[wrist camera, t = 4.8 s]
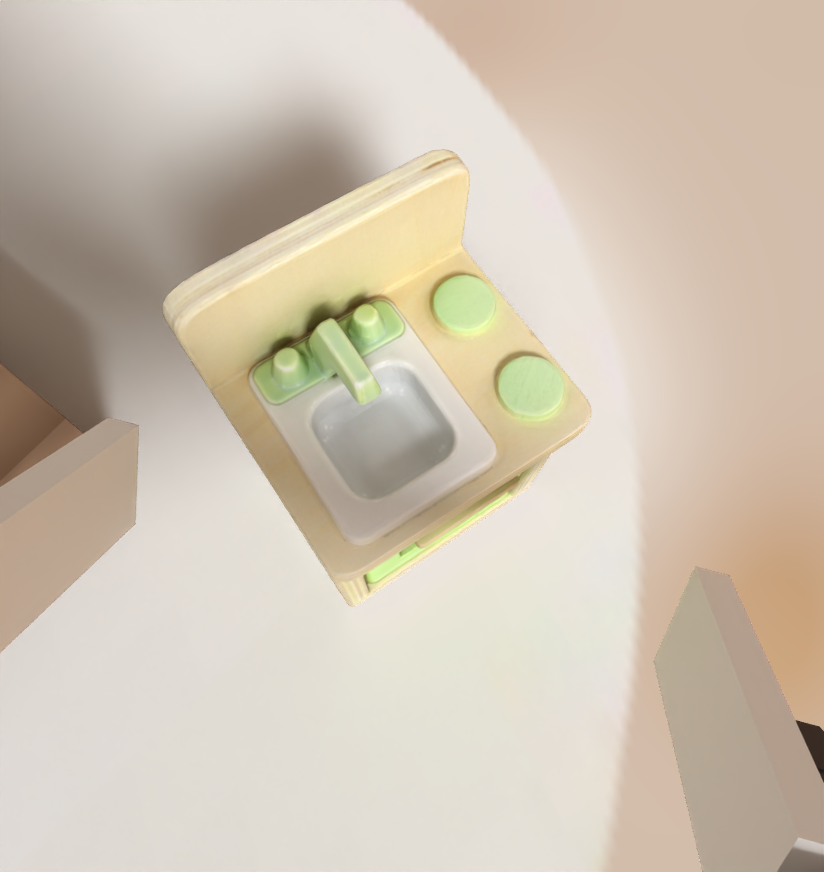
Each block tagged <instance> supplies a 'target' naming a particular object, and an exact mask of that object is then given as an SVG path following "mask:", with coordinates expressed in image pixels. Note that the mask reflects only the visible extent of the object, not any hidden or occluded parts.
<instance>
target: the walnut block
mask: <svg viewBox="0 0 824 872" xmlns="http://www.w3.org/2000/svg"><path fill="white" fill-rule="evenodd" d="M82 434H84V433H83V432H81V431H80V430H79V429H78V428H77V427H76V426H74V425H73V424H72V423H71V422H70V421H68V420H67V419H66V418H65V417H64V416H63V415H61V414H60V413H59V412H58V411H57V410H55V409H54V408H53V407H52V406H51V405H49V404H48V403H47V402H46V401H45V400H43V399H42V398H41V397H40V396H39V395H37V394H36V393H35V392H34V391H33V390H31V389H30V388H29V387H28V386H27V385H25V384H24V383H23V382H22V381H21V380H19V379H18V378H17V377H16V376H15V375H13V374H12V373H11V372H10V371H9V370H7V369H6V368H5V367H4V366H3V365H1V364H0V487H1V486H3V485H4V484H6V483H7V482H9V481H10V480H12V479H14V478H15V477H17V476H18V475H20V474H21V473H23V472H24V471H26V470H28V469H29V468H31V467H32V466H34V465H35V464H37V463H38V462H40V461H42V460H43V459H45V458H46V457H48V456H49V455H51V454H52V453H54V452H56V451H57V450H59V449H60V448H62V447H63V446H65V445H66V444H68V443H70V442H71V441H73V440H74V439H76V438H77V437H79V436H80V435H82Z"/></svg>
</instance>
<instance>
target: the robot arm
mask: <svg viewBox="0 0 824 872" xmlns="http://www.w3.org/2000/svg"><path fill="white" fill-rule="evenodd" d="M138 436H139V425H136V424H132V423H128V422H124V421H120V420H116V419H112V418H107V419H105V420H104V421H102V422H101V423H99V424H98V425H96V426H94V427H93V428H91V429H90V430H88V431H87V432H85V433H84V434H82V435H80V436H79V437H77V438H76V439H74V440H73V441H71V442H70V443H68V444H66V445H65V446H63V447H62V448H60V449H59V450H57V451H56V452H54V453H52V454H51V455H49V456H48V457H46V458H45V459H43V460H42V461H40V462H38V463H37V464H35V465H34V466H32V467H31V468H29V469H28V470H26V471H24V472H23V473H21V474H20V475H18V476H17V477H15V478H14V479H12V480H10V481H9V482H7V483H6V484H4V485H3V486H1V487H0V653H1V652H2V651H3V650H4V649H5V648H6V647H7V646H8V645H9V644H10V643H11V642H12V641H13V640H14V639H15V638H16V637H17V636H18V635H19V634H20V633H22V632H23V631H24V630H25V629H26V628H27V627H28V626H29V625H30V624H31V623H32V622H33V621H34V620H35V619H36V618H37V617H38V616H39V615H40V614H41V613H43V612H44V611H45V610H46V609H47V608H48V607H49V606H50V605H51V604H52V603H53V602H54V601H55V600H56V599H57V598H58V597H59V596H60V595H61V594H62V593H63V592H65V591H66V590H67V589H68V588H69V587H70V586H71V585H72V584H73V583H74V582H75V581H76V580H77V579H78V578H79V577H80V576H81V575H82V574H83V573H84V572H85V571H87V570H88V569H89V568H90V567H91V566H92V565H93V564H94V563H95V562H96V561H97V560H98V559H99V558H100V557H101V556H102V555H103V554H104V553H105V552H106V551H107V550H109V549H110V548H111V547H112V546H113V545H114V544H115V543H116V542H117V541H118V540H119V539H120V538H121V537H122V536H123V535H124V534H125V533H126V532H127V531H128V530H129V529H131V528H132V527H133V526H134V525H135V520H136V492H137V464H138ZM654 665H655V669H656V673H657V678H658V682H659V687H660V691H661V695H662V699H663V704H664V708H665V713H666V717H667V721H668V725H669V729H670V734H671V738H672V743H673V747H674V751H675V756H676V760H677V764H678V768H679V773H680V777H681V781H682V785H683V790H684V794H685V799H686V803H687V807H688V811H689V816H690V820H691V824H692V829H693V833H694V838H695V841H696V846H697V850H698V855H699V859H700V863H701V868H702V872H824V731H823V730H822V729H821V728H820V727H819V726H815V725H811V724H808V723H804V722H800V721H797V720H795V719H794V716H793V714H792V712H791V710H790V708H789V705H788V703H787V701H786V699H785V697H784V694H783V692H782V690H781V688H780V686H779V683H778V681H777V679H776V677H775V675H774V673H773V670H772V668H771V666H770V664H769V661H768V659H767V657H766V655H765V653H764V651H763V648H762V646H761V644H760V642H759V639H758V637H757V635H756V633H755V630H754V628H753V626H752V624H751V622H750V619H749V617H748V615H747V613H746V611H745V608H744V606H743V604H742V602H741V600H740V597H739V595H738V593H737V591H736V589H735V587H734V584H733V582H732V580H731V578H730V576H729V575H727V574H722V573H719V572H715V571H711V570H707V569H703V568H699V567H695V568H694V570H693V572H692V574H691V577H690V579H689V581H688V584H687V586H686V588H685V590H684V592H683V595H682V597H681V599H680V602H679V604H678V606H677V609H676V611H675V613H674V616H673V618H672V620H671V622H670V624H669V627H668V629H667V631H666V634H665V636H664V638H663V640H662V643H661V645H660V647H659V650H658V652H657V654H656V657H655V659H654Z"/></svg>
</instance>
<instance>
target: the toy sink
mask: <svg viewBox="0 0 824 872" xmlns="http://www.w3.org/2000/svg"><path fill="white" fill-rule="evenodd" d="M469 186H470V177H469V171H468V169H467V167H466V166H465V164H464V163H463V162H462V161H461V159H460V158H459V157H458V155H457V154H455V153H454V152H452V151H449V150H433V151H430V152H428V153H425V154H424V155H422V156H420V157H417V158H415V159H413V160H411V161H409V162H407V163H405V164H404V165H402V166H400V167H398V168H396V169H394V170H392V171H390V172H388V173H386V174H384V175H382V176H380V177H378V178H376V179H374V180H372V181H371V182H369V183H367V184H365V185H363V186H361V187H359V188H357V189H355V190H353V191H351V192H349V193H347V194H345V195H344V196H342V197H340V198H338V199H336V200H334V201H332V202H330V203H328V204H326V205H324V206H322V207H320V208H318V209H316V210H314V211H312V212H310V213H308V214H306V215H304V216H303V217H301V218H299V219H297V220H296V221H294V222H292V223H290V224H288V225H286V226H284V227H282V228H280V229H278V230H276V231H274V232H272V233H270V234H268V235H266V236H264V237H262V238H260V239H258V240H256V241H255V242H253V243H251V244H249V245H247V246H245V247H243V248H241V249H240V250H238V251H236V252H234V253H232V254H230V255H228V256H226V257H224V258H223V259H221V260H219V261H217V262H215V263H214V264H212V265H210V266H208V267H206V268H205V269H203V270H201V271H199V272H197V273H196V274H194V275H192V276H191V277H189V278H188V279H186V280H184V281H183V282H181V283H180V284H179V285H178V286H176V287H175V288H174V289H173V290H172V291H171V292H170V293H169V294H168V295H167V296H166V298H165V300H164V302H163V305H162V311H163V315H164V318H165V320H166V322H167V323H168V325H169V326H170V328H171V330H172V331H173V333H174V334H175V336H176V338H177V339H178V341H179V342H180V344H181V345H182V347H183V349H184V350H185V352H186V354H187V355H188V357H189V358H190V360H191V362H192V363H193V365H194V366H195V368H196V369H197V371H198V373H199V374H200V376H201V377H202V379H203V380H204V382H205V383H206V385H207V386H208V388H209V390H210V391H211V393H212V394H213V396H214V397H215V399H216V401H217V402H218V404H219V405H220V407H221V408H222V410H223V411H224V413H225V414H226V416H227V418H228V419H229V421H230V422H231V424H232V425H233V427H234V428H235V430H236V431H237V433H238V434H239V436H240V438H241V439H242V441H243V442H244V444H245V445H246V447H247V448H248V450H249V452H250V453H251V455H252V456H253V458H254V459H255V461H256V462H257V464H258V465H259V467H260V468H261V470H262V471H263V473H264V475H265V476H266V478H267V479H268V481H269V482H270V484H271V485H272V487H273V488H274V490H275V492H276V493H277V495H278V496H279V498H280V499H281V501H282V503H283V504H284V506H285V507H286V509H287V510H288V512H289V514H290V515H291V517H292V518H293V520H294V521H295V523H296V525H297V526H298V528H299V529H300V531H301V532H302V534H303V536H304V537H305V539H306V540H307V542H308V543H309V545H310V546H311V548H312V550H313V551H314V553H315V554H316V556H317V557H318V559H319V560H320V562H321V564H322V565H323V567H324V568H325V570H326V571H327V573H328V574H329V576H330V578H331V579H332V581H333V582H334V584H335V585H336V587H337V588H338V590H339V591H340V593H341V594H342V596H343V597H344V599H345V600H346V602H347V604H348V605H349V606H351V607H354V606H356V605H358V604H360V603H361V602H363V601H364V600H366V599H367V598H369V597H370V596H372V595H373V594H375V593H376V592H378V591H379V590H381V589H382V588H383V587H385V586H386V585H388V584H389V583H391V582H392V581H394V580H395V579H397V578H398V577H400V576H401V575H403V574H404V573H405V572H407V571H408V570H410V569H411V568H413V567H414V566H416V565H417V564H419V563H420V562H422V561H423V560H425V559H426V558H428V557H429V556H430V555H432V554H433V553H435V552H436V551H438V550H439V549H441V548H442V547H444V546H445V545H447V544H448V543H450V542H451V541H453V540H454V539H455V538H457V537H458V536H460V535H461V534H463V533H464V532H465V531H467V530H469V529H470V528H472V527H473V526H475V525H476V524H478V523H479V522H480V521H482V520H483V519H485V518H486V517H488V516H489V515H491V514H492V513H494V512H495V511H497V510H498V509H500V508H501V507H502V506H504V505H505V504H507V503H508V502H510V501H511V500H513V499H514V498H516V497H517V496H518V495H520V494H521V493H522V492H524V491H525V490H526V489H527V488H528V487H529V486H530V485H531V483H532V481H533V480H534V479H535V477H536V476H537V474H538V472H539V471H540V470H541V468H542V467H543V465H544V464H545V462H546V460H547V459H548V457H549V456H550V454H551V453H553V452H554V451H556V450H557V449H559V448H560V447H562V446H563V445H565V444H566V443H568V442H569V441H571V440H572V439H574V438H575V437H576V436H578V435H579V434H580V433H581V431H582V430H583V429H584V428H585V426H586V425H587V424H588V422H589V420H590V418H591V406H590V404H589V402H588V400H587V398H586V397H585V396H584V394H583V393H582V392H581V391H580V390H579V388H578V387H577V386H576V385H575V384H574V382H573V381H572V380H571V379H570V377H569V376H568V375H567V374H566V373H565V371H564V370H563V369H562V368H561V367H560V365H559V364H558V363H557V362H556V360H555V359H554V358H553V357H552V356H551V354H550V353H549V352H548V351H547V349H546V348H545V347H544V346H543V344H542V343H541V342H540V341H539V340H538V338H537V337H536V336H535V335H534V333H533V332H532V331H531V330H530V329H529V327H528V326H527V325H526V324H525V322H524V321H523V320H522V319H521V318H520V316H519V315H518V314H517V313H516V312H515V310H514V309H513V308H512V307H511V305H510V304H509V303H508V302H507V301H506V300H505V298H504V297H503V296H502V294H501V293H500V292H499V291H498V290H497V288H496V287H495V286H494V285H493V284H492V282H491V281H490V280H489V279H488V278H487V276H486V275H485V274H484V273H483V272H482V270H481V269H480V268H479V267H478V265H477V264H476V263H475V262H474V260H473V259H472V258H471V257H470V255H469V254H468V253H467V252H466V250H465V249H464V247H463V245H462V236H463V231H464V224H465V216H466V208H467V201H468V194H469Z"/></svg>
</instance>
